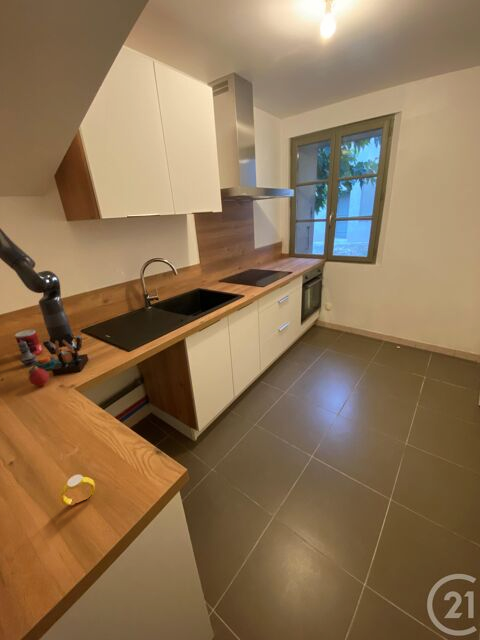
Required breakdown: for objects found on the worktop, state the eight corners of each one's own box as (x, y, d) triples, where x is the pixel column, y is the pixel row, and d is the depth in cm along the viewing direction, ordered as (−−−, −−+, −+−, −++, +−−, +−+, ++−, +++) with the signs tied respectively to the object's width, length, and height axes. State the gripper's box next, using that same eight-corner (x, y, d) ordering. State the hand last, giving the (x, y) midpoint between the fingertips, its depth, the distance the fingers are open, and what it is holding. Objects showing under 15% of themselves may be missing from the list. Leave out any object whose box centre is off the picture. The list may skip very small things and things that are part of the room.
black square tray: (53, 375, 104) (51, 369, 103) (64, 363, 113) (61, 357, 112) (80, 371, 106) (78, 365, 105) (88, 359, 115) (86, 353, 114)
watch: (65, 513, 54) (56, 493, 52) (66, 501, 56) (57, 481, 54) (97, 498, 56) (89, 479, 54) (97, 487, 59) (90, 468, 56)
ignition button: (38, 364, 109) (37, 360, 108) (43, 360, 112) (41, 356, 111) (48, 363, 109) (47, 359, 108) (52, 358, 112) (51, 355, 112)
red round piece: (42, 390, 95) (34, 372, 92) (29, 389, 96) (21, 371, 93) (55, 381, 100) (48, 363, 98) (42, 380, 102) (35, 362, 99)
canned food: (37, 349, 129) (29, 328, 125) (46, 351, 125) (38, 330, 121) (19, 356, 122) (10, 335, 118) (29, 359, 119) (20, 337, 115)
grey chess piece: (23, 369, 111) (12, 344, 106) (20, 365, 114) (10, 340, 110) (40, 363, 115) (30, 338, 110) (36, 359, 118) (27, 335, 114)
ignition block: (29, 373, 107) (27, 367, 106) (39, 364, 114) (37, 358, 113) (56, 369, 109) (54, 363, 108) (64, 360, 116) (62, 354, 115)
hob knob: (62, 364, 106) (58, 354, 104) (66, 359, 110) (62, 349, 108) (73, 363, 107) (70, 352, 105) (77, 357, 111) (74, 347, 109)
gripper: (80, 317, 107) (91, 354, 113) (41, 321, 104) (55, 359, 111) (73, 324, 100) (85, 362, 106) (31, 329, 98) (46, 368, 104)
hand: (69, 360), depth 108 cm, fingers closed on hob knob, 4 cm apart
